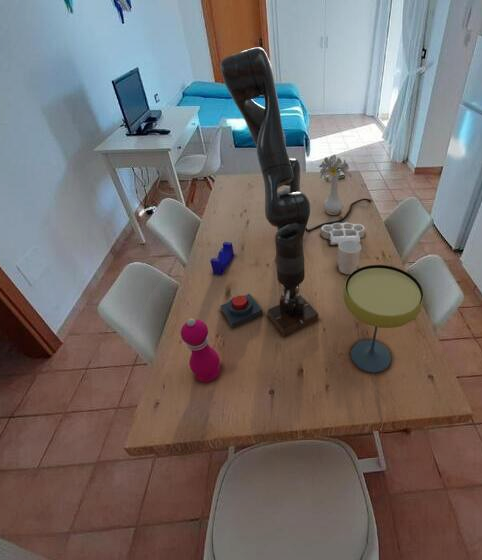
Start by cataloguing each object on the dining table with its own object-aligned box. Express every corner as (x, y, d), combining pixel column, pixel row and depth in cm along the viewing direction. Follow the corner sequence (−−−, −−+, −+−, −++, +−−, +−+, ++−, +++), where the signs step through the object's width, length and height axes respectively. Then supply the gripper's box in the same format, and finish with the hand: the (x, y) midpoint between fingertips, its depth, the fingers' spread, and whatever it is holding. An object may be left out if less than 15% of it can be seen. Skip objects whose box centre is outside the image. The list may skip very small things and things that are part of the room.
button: (243, 297, 103) (243, 293, 102) (250, 305, 100) (249, 301, 99) (230, 303, 101) (229, 298, 100) (236, 311, 98) (235, 307, 97)
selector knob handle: (304, 310, 100) (304, 297, 96) (303, 315, 98) (303, 303, 95) (282, 307, 101) (281, 294, 97) (280, 312, 99) (279, 300, 95)
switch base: (299, 300, 107) (299, 293, 105) (319, 321, 100) (319, 314, 98) (267, 315, 102) (266, 308, 100) (285, 338, 95) (284, 331, 93)
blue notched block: (223, 254, 127) (220, 241, 123) (234, 255, 126) (231, 242, 122) (209, 273, 118) (206, 259, 114) (221, 275, 117) (218, 261, 113)
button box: (250, 298, 108) (248, 289, 105) (262, 314, 102) (261, 305, 100) (221, 310, 104) (219, 301, 101) (232, 328, 98) (230, 319, 95)
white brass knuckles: (322, 247, 131) (320, 228, 142) (367, 246, 132) (361, 227, 143) (323, 240, 129) (320, 221, 140) (368, 239, 129) (362, 220, 141)
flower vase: (340, 201, 161) (343, 149, 145) (350, 220, 147) (355, 164, 131) (314, 203, 159) (314, 151, 143) (322, 222, 145) (323, 167, 129)
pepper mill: (196, 361, 89) (177, 309, 76) (223, 359, 89) (209, 307, 76) (191, 385, 83) (169, 333, 70) (220, 383, 84) (204, 331, 71)
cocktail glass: (358, 395, 81) (370, 327, 65) (327, 342, 94) (330, 274, 78) (417, 370, 87) (442, 302, 71) (381, 323, 100) (394, 257, 84)
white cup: (361, 265, 122) (364, 243, 115) (354, 278, 116) (356, 255, 110) (341, 260, 124) (343, 237, 118) (333, 272, 119) (334, 249, 112)
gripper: (299, 283, 82) (300, 329, 93) (308, 251, 93) (308, 296, 104) (269, 279, 83) (274, 326, 94) (282, 248, 93) (285, 293, 105)
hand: (292, 310), depth 99 cm, fingers closed on selector knob handle, 2 cm apart
